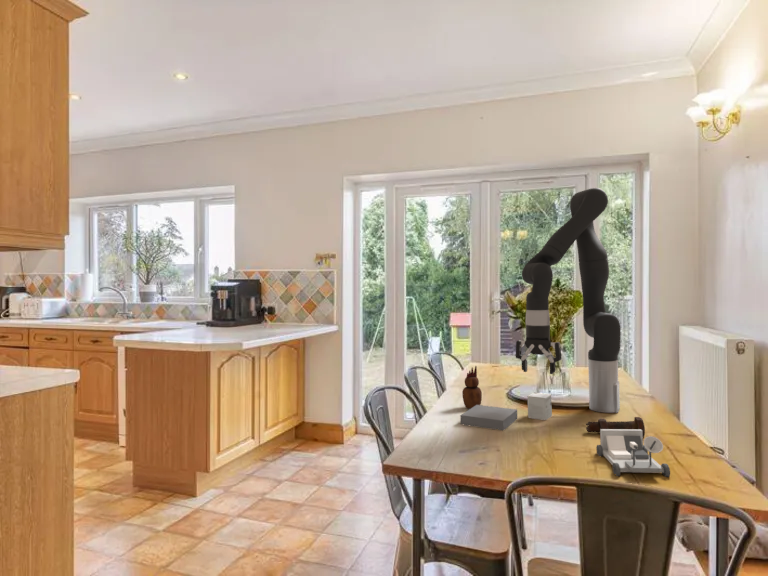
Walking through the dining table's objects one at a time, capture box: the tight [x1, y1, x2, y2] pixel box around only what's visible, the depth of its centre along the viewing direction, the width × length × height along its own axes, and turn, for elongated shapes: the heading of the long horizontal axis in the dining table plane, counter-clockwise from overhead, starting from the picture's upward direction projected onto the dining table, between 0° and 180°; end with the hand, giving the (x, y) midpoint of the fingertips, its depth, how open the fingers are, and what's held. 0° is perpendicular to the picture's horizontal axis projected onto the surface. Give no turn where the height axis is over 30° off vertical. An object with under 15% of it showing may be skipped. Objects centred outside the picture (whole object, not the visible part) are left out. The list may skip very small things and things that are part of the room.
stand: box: [459, 404, 518, 431], centre depth 157 cm, size 14×14×3 cm
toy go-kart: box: [595, 429, 671, 478], centre depth 117 cm, size 18×10×12 cm
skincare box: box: [527, 392, 553, 421], centre depth 161 cm, size 6×6×7 cm
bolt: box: [585, 416, 646, 438], centre depth 141 cm, size 6×5×15 cm
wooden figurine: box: [461, 365, 483, 410], centre depth 174 cm, size 7×6×15 cm
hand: (538, 372), depth 160 cm, fingers open, 8 cm apart
